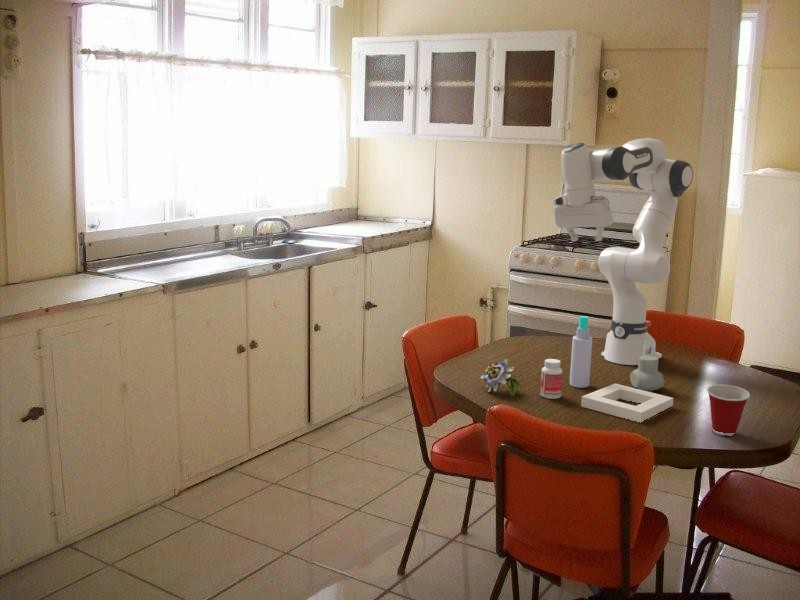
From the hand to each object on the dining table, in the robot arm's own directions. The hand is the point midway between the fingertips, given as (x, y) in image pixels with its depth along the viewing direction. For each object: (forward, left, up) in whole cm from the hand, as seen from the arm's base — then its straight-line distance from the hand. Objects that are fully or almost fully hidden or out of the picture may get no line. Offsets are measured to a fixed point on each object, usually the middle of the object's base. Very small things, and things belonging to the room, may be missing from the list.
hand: (586, 240), depth 272 cm
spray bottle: (+6, +5, -45) cm, 45 cm away
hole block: (+14, +26, -45) cm, 53 cm away
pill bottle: (+22, +5, -45) cm, 50 cm away
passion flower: (+29, -8, -45) cm, 54 cm away
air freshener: (-7, +21, -45) cm, 50 cm away
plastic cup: (+14, +55, -45) cm, 72 cm away
